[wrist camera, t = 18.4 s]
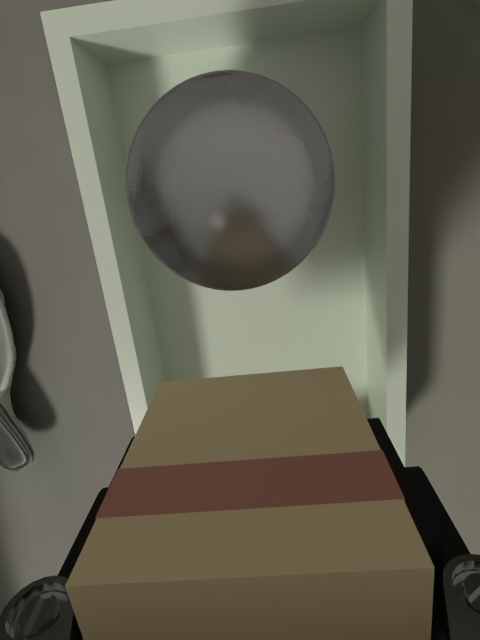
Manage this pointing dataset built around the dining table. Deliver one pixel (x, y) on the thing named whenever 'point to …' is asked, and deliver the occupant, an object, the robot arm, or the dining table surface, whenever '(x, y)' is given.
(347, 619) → the cardboard box
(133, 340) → the tote
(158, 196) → the steel can
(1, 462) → the salad plate
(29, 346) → the dining table surface
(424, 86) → the dining table surface
